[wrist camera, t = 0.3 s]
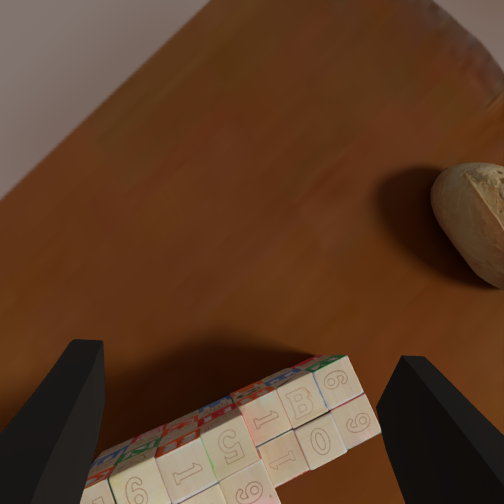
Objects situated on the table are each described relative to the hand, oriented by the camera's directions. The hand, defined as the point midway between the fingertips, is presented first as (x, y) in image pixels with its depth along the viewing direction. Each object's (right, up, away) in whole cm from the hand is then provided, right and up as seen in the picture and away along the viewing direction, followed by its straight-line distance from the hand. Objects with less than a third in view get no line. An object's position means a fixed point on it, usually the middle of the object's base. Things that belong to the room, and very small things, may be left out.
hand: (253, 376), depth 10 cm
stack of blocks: (-2, -13, +29) cm, 32 cm away
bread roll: (+24, +5, +36) cm, 43 cm away
